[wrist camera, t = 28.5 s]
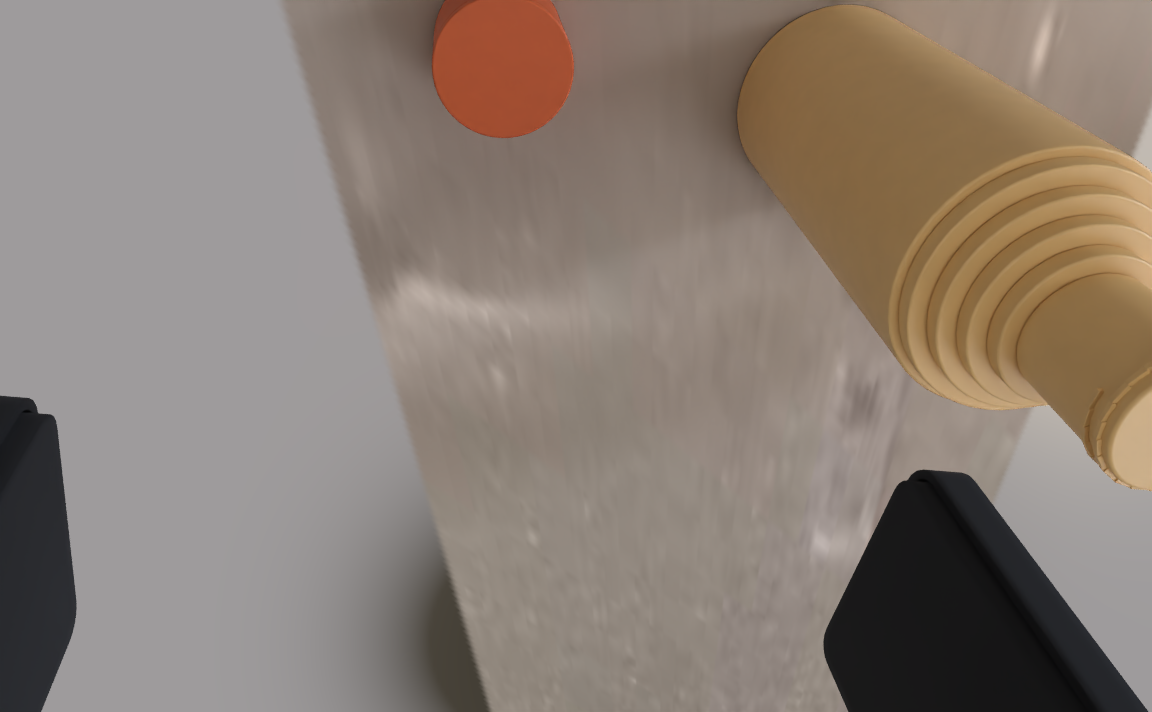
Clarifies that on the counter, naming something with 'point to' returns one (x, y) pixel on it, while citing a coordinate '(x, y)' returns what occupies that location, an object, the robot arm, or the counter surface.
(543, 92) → the cap
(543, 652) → the counter surface
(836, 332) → the counter surface
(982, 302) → the sauce bottle
